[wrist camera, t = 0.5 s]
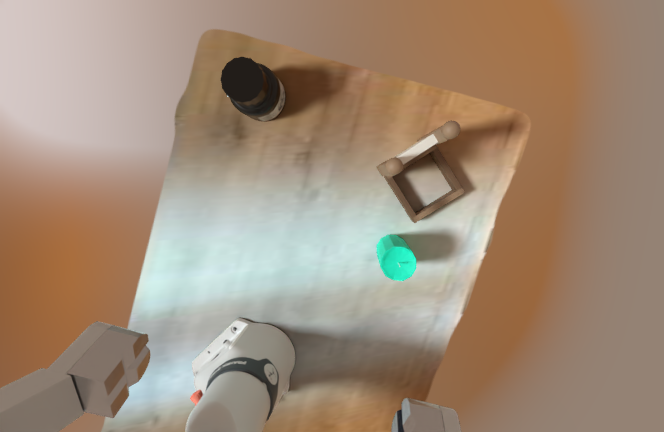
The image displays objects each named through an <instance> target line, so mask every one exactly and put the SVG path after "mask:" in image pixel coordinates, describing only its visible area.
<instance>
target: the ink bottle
mask: <svg viewBox="0 0 664 432" xmlns="http://www.w3.org/2000/svg"><path fill="white" fill-rule="evenodd" d="M221 83H222V88H223V90H224V91H225V93H226V95H227V96H228V97H230V99H231V102H232V103H233V105H234V106H235V107H236V108H237V109H238V110H239V111H240V112H242V113H243V114H245V115H247V116H249V117H251V118H252V119H255V120H258V121H270V120H272V119H274V118H276V117H277V116H278V115H279V114H280V113H281V111H282V110H283V108H284V105H285V101H286V93H285V89H284V87H283V85H282V83H281V82H280V80H279V79H278V78H277V76H276V75H275V74H274V73H273V72H272V71H271V70H270V69H269V68H268V67H266V66H264V65H262V64H259V63H256V62H254V61H253V60H252V59H250V58H245V57H239V58H234V59H233V60H231V61H230V62H228V63H227V64H226V66H225V68H224V69H223V70H222V76H221Z"/></svg>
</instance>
